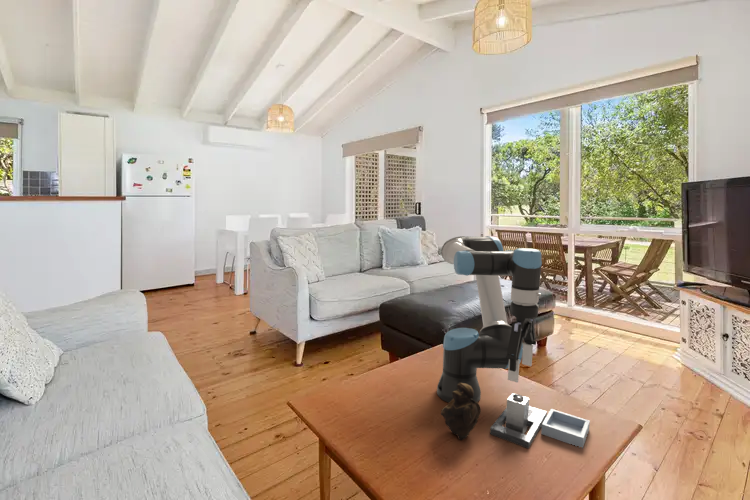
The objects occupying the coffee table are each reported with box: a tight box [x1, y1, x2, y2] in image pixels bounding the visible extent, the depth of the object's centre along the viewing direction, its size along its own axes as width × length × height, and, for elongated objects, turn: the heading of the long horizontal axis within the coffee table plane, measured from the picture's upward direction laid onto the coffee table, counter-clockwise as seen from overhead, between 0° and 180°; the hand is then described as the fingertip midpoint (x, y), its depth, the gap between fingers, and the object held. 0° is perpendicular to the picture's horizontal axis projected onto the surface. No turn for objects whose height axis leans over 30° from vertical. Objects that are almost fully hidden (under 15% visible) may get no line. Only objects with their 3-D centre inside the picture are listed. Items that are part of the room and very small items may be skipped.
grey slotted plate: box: [489, 405, 548, 450], centre depth 119 cm, size 11×20×2 cm, turn 143°
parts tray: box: [540, 408, 591, 449], centre depth 116 cm, size 11×11×3 cm
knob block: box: [505, 392, 530, 435], centre depth 116 cm, size 5×5×11 cm
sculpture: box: [440, 383, 482, 441], centre depth 113 cm, size 11×11×15 cm
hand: (520, 372), depth 114 cm, fingers open, 13 cm apart
